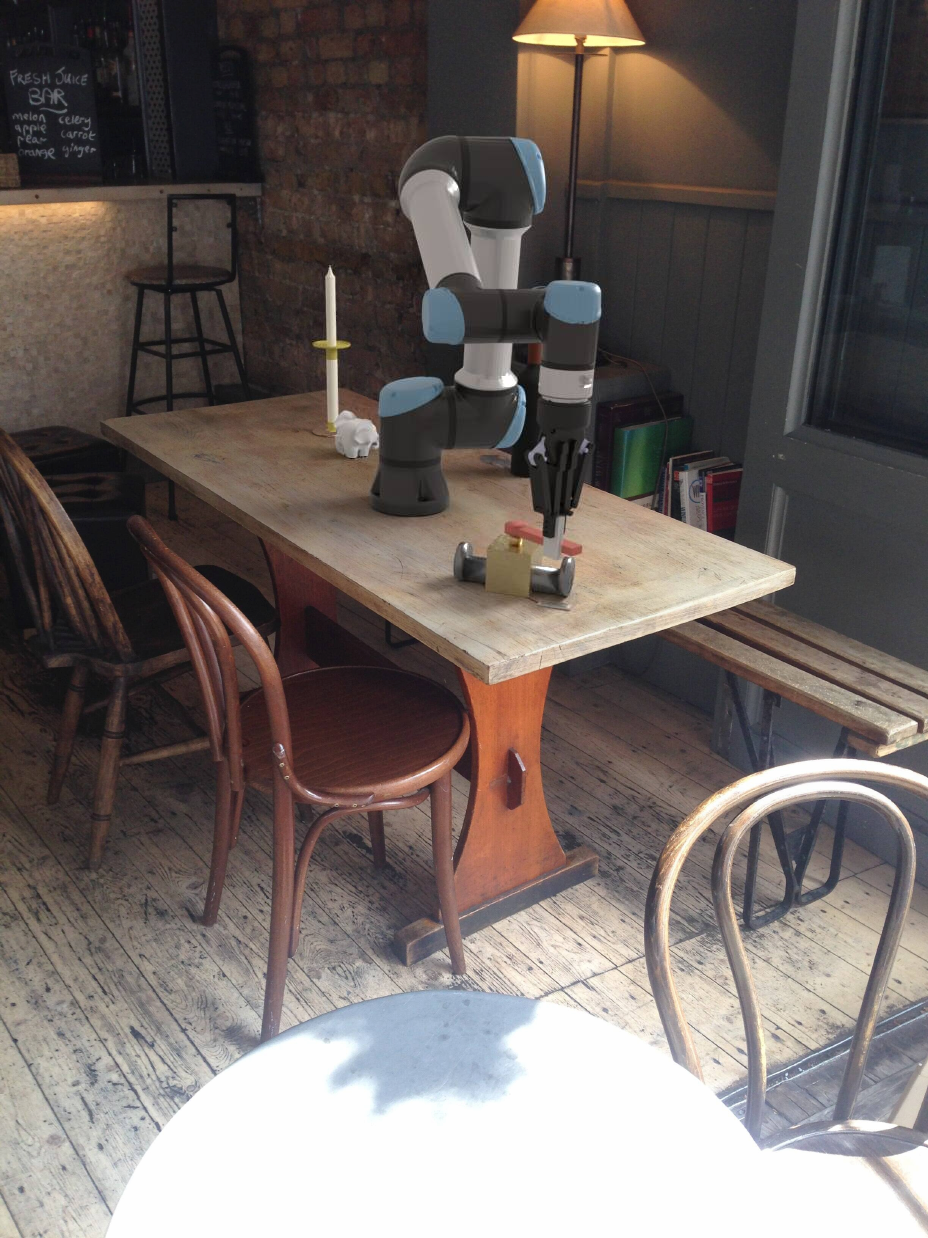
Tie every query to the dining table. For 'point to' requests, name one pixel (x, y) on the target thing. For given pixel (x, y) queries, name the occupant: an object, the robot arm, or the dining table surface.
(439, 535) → the dining table surface
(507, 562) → the valve
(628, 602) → the dining table surface
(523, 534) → the lever
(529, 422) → the wine bottle
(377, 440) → the elephant figurine
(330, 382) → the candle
